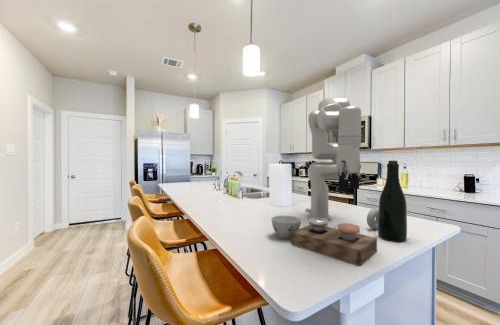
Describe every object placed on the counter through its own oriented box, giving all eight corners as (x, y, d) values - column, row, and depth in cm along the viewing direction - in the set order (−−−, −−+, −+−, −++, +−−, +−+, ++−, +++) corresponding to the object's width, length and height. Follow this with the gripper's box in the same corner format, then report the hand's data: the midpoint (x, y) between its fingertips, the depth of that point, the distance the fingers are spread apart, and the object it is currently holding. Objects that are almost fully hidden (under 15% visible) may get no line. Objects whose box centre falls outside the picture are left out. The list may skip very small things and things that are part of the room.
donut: (371, 231, 107) (371, 210, 106) (364, 229, 110) (365, 208, 110) (385, 228, 111) (385, 208, 111) (378, 226, 114) (378, 206, 114)
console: (291, 244, 92) (291, 231, 91) (312, 234, 103) (312, 223, 103) (360, 265, 73) (360, 250, 73) (376, 251, 84) (376, 237, 84)
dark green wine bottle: (405, 236, 100) (406, 160, 100) (407, 244, 91) (408, 160, 91) (378, 232, 106) (379, 160, 105) (377, 239, 97) (378, 160, 96)
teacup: (306, 239, 97) (306, 220, 96) (280, 243, 92) (280, 223, 92) (288, 229, 111) (288, 212, 111) (264, 232, 106) (264, 215, 106)
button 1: (305, 233, 92) (305, 219, 92) (314, 229, 97) (314, 216, 97) (322, 238, 87) (322, 223, 87) (331, 233, 92) (331, 219, 92)
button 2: (334, 241, 84) (334, 226, 84) (342, 236, 89) (343, 222, 89) (354, 246, 79) (355, 230, 78) (362, 241, 84) (362, 226, 84)
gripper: (348, 143, 92) (348, 186, 92) (328, 141, 80) (328, 191, 80) (368, 142, 87) (368, 188, 87) (350, 140, 74) (350, 193, 75)
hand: (349, 189), depth 83 cm, fingers open, 9 cm apart
